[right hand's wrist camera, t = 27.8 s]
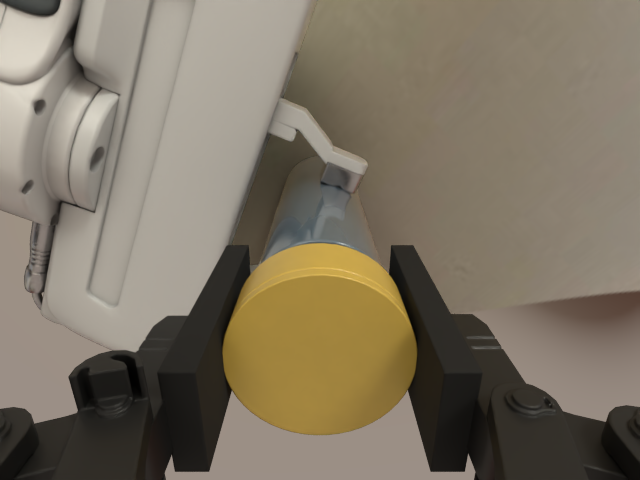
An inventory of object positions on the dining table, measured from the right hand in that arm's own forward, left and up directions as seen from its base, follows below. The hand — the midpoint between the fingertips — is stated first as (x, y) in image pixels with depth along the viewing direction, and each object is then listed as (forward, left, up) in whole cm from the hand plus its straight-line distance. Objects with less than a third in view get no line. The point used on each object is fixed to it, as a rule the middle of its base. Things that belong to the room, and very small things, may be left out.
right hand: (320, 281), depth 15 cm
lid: (0, 0, +4) cm, 4 cm away
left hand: (+1, +1, -6) cm, 6 cm away
